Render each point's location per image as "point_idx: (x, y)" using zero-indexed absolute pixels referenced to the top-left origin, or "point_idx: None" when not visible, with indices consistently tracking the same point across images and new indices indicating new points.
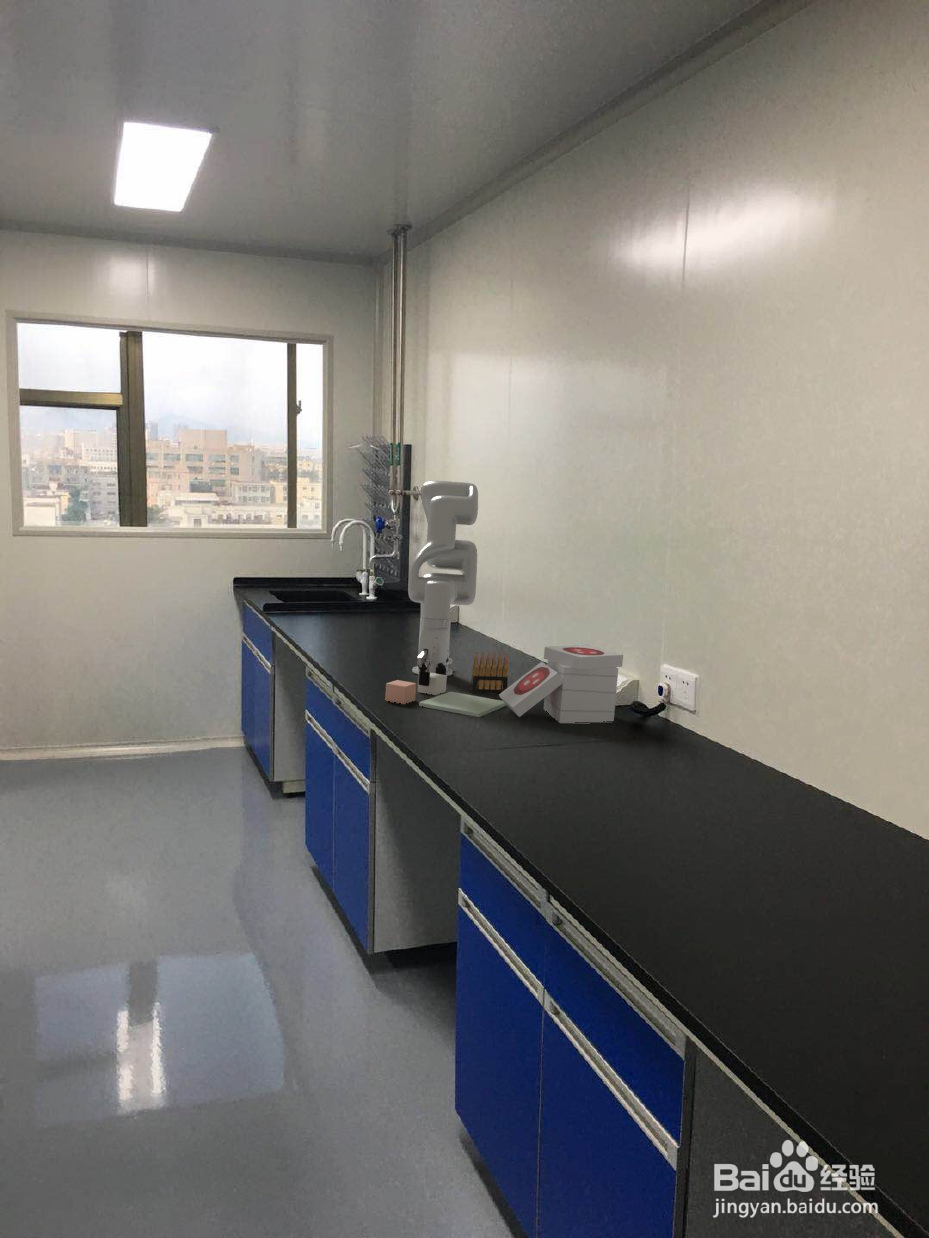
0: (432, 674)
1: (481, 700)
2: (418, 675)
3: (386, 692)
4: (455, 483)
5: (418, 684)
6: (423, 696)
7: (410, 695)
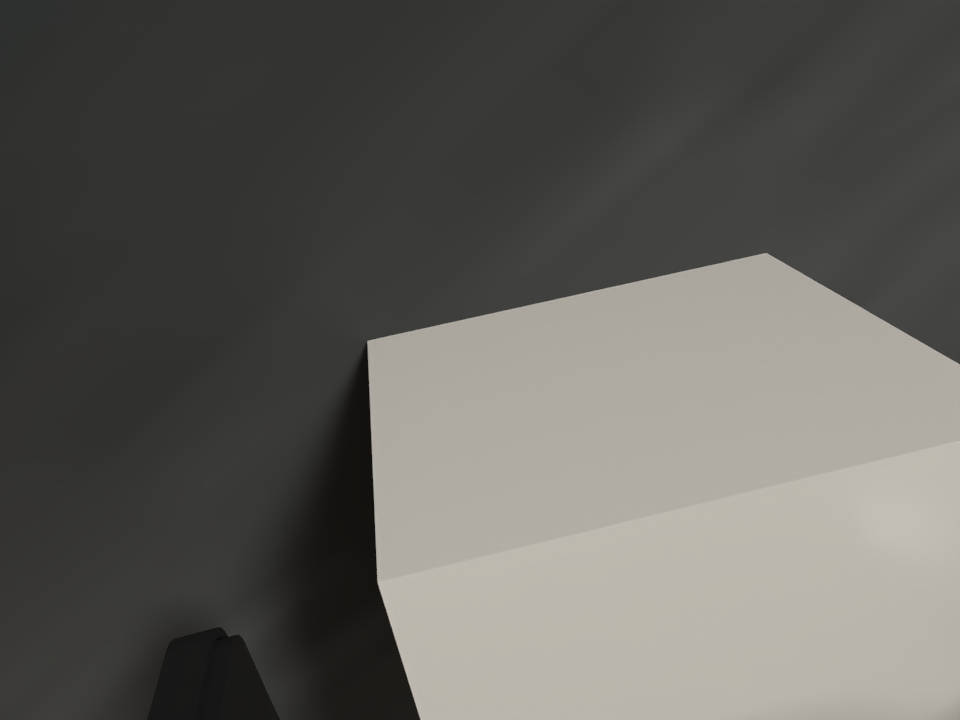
0: (820, 662)
1: None
2: (381, 575)
3: None
4: None
5: (372, 436)
6: (198, 619)
7: None
